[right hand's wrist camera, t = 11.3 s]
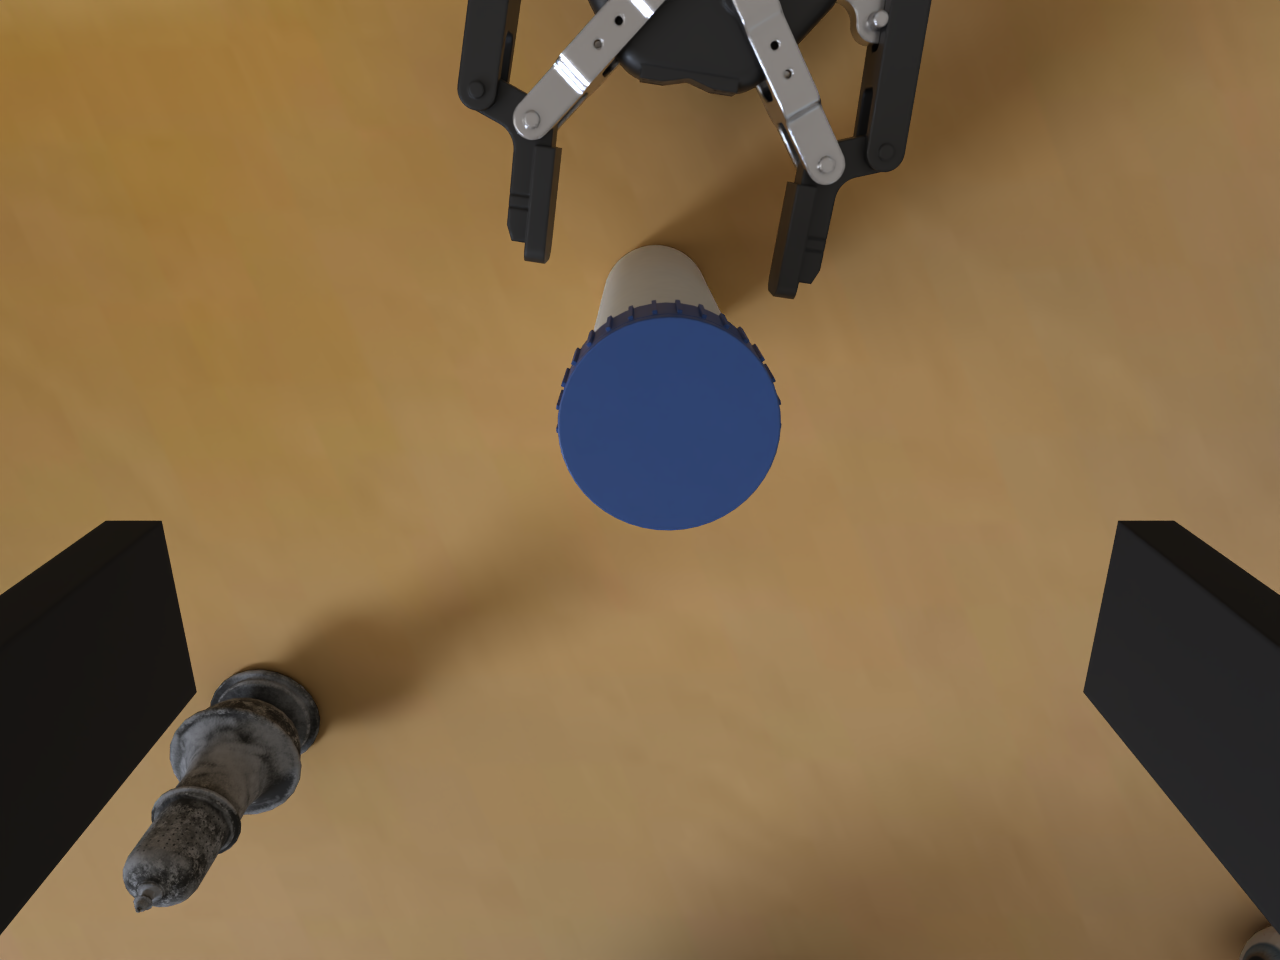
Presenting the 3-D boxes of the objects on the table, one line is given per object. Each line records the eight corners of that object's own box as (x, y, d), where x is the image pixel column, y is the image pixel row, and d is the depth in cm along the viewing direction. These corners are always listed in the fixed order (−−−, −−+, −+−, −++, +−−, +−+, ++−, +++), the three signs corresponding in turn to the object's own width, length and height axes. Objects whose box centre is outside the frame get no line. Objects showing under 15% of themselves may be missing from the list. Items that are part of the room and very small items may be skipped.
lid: (769, 501, 23) (780, 532, 21) (566, 504, 23) (560, 536, 21) (775, 296, 21) (788, 310, 19) (555, 301, 21) (547, 316, 19)
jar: (706, 347, 38) (760, 508, 21) (605, 350, 38) (578, 511, 21) (707, 243, 36) (766, 326, 20) (601, 246, 36) (569, 330, 20)
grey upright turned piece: (199, 660, 43) (42, 843, 32) (323, 668, 43) (210, 852, 32) (211, 761, 45) (67, 967, 34) (328, 768, 45) (225, 975, 34)
